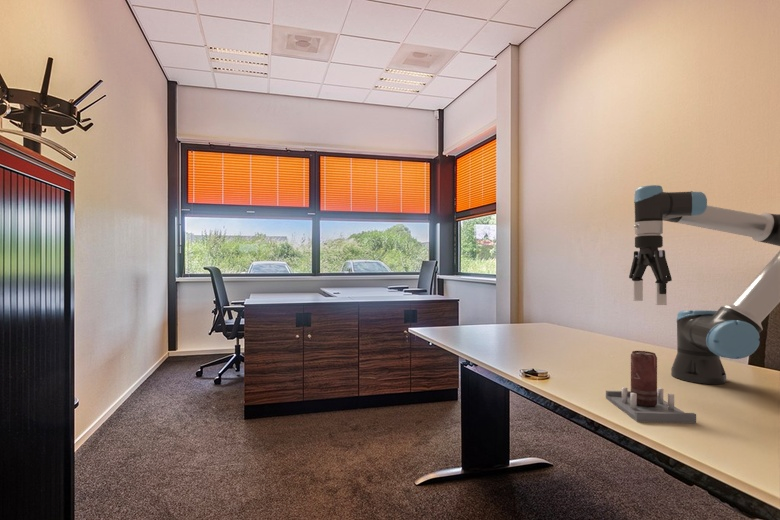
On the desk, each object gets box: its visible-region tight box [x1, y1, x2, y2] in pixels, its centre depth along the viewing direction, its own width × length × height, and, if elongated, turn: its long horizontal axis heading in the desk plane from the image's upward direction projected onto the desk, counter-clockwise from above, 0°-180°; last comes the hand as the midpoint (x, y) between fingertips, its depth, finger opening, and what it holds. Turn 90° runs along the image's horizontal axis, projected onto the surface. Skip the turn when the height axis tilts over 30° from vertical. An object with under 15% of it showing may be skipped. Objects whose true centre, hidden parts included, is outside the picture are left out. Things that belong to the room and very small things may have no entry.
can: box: [630, 350, 658, 407], centre depth 115 cm, size 6×6×14 cm
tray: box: [605, 386, 697, 424], centre depth 113 cm, size 14×18×5 cm
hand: (648, 302), depth 133 cm, fingers open, 13 cm apart
